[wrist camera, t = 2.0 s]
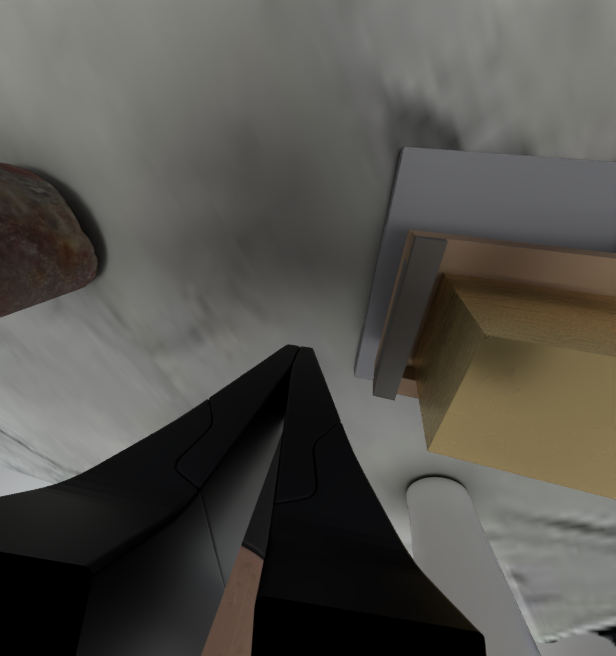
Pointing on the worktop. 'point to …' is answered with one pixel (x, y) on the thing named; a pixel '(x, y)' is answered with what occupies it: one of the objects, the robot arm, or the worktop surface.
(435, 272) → the beam
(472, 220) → the stand
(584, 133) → the worktop surface
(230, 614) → the travel mug
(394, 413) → the worktop surface
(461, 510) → the drinking glass
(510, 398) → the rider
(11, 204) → the candle
